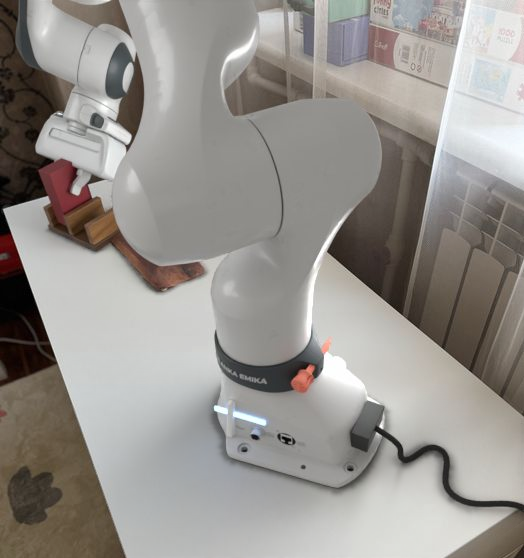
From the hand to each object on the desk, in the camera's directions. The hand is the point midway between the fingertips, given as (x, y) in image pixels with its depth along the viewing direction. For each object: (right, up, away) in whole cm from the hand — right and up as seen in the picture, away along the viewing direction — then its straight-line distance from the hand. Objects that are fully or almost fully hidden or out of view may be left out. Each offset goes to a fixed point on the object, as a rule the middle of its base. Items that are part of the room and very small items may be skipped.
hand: (65, 190), depth 102 cm
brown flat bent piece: (+16, -12, -1) cm, 20 cm away
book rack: (+3, -6, +5) cm, 8 cm away
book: (+1, -4, +5) cm, 6 cm away
